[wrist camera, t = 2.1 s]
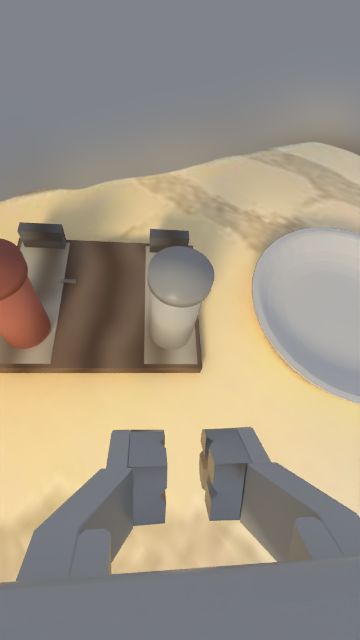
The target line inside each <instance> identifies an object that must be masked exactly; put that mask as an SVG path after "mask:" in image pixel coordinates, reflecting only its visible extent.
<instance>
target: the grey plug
mask: <svg viewBox="0 0 360 640" xmlns="http://www.w3.org/2000/svg"><path fill="white" fill-rule="evenodd" d="M147 280H148V286H149V288H150V290H151V304H150V321H149V334H150V337H151V339H152V341H153V342H154V343H155V344H156V345H157V346H159V347H161V348H163V349H167V350H175V349H179V348H181V347H183V346H185V345H186V344H187V343H188V341H189V340H190V338H191V335H192V331H193V328H194V325H195V322H196V319H197V316H198V313H199V310H200V306H201V303H202V301H203V300H204V299H205V298H206V297H207V296H208V294H209V292H210V290H211V287H212V284H213V281H214V270H213V267H212V265H211V263H210V261H209V260H208V259H207V258H206V257H205V256H204V255H203V254H202V253H200V252H198V251H197V250H194V249H192V248H189V247H183V246H173V247H168V248H165V249H163V250H161V251H159V252H158V253H156V254H155V255H154V256H153V257H152V259H151V260H150V263H149V266H148V278H147Z"/></svg>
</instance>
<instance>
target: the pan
mask: <svg viewBox="0 0 360 640" xmlns="http://www.w3.org/2000/svg"><path fill="white" fill-rule="evenodd" d="M252 298H253V303H254V309H255V313H256V315H257V318H258V320H259V323H260V325H261V328H262V330H263V332H264V334H265V335H266V337H267V338H268V340H269V341H270V343H271V345H272V346H273V348H274V349H275V350H276V351H277V353H278V354H279V355H280V356H281V357H282V358H283V359H284V360H285V361H286V363H287V364H288V365H289V366H290V367H291V368H292V369H294V370H295V371H296V372H297V373H299V374H300V375H301V376H302V377H304V378H305V379H306V380H307V381H309V382H310V383H312V384H313V385H315V386H317V387H319V388H320V389H322V390H324V391H326V392H327V393H329V394H331V395H333V396H336V397H339V398H341V399H344V400H347V401H349V402H352V403H355V404H360V234H357V233H354V232H351V231H346V230H341V229H336V228H321V227H316V228H308V229H301V230H298V231H295V232H291V233H288V234H286V235H284V236H283V237H281V238H279V239H277V240H276V241H274V242H273V243H272V244H271V245H270V246H269V247H268V248H267V249H266V250H265V251H264V253H263V254H262V256H261V257H260V259H259V261H258V262H257V265H256V268H255V271H254V274H253V278H252Z"/></svg>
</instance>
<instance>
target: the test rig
mask: <svg viewBox="0 0 360 640" xmlns="http://www.w3.org/2000/svg"><path fill="white" fill-rule="evenodd" d="M18 233H19V235H20V237H21V238H19V241H18V245H17V247H18V248H19V249H20V251H21V252H22V254H23V256H24V258H25V261H26V263H27V266H28V277H29V279H30V281H31V283H32V285H33V287H34V289H35V291H36V293H37V295H38V297H39V299H40V301H41V303H42V305H43V307H44V310H45V312H46V314H47V316H48V318H49V320H50V323H51V328H50V332H49V334H48V336H47V337H46V339H45V340H44V341H42V342H41V343H40V344H38V345H36V346H34V347H31V348H26V349H19V348H15V347H13V346H11V345H9V344H8V343H7V342H6V341H5V340H4V338H3V337H2V336H1V335H0V373H200V371H201V369H202V362H201V348H200V335H199V322H198V316H197V319H196V322H195V325H194V328H193V331H192V335H191V338H190V340H189V341H188V343H187V344H186V345H185V346H183V347H181V348H179V349H175V350H167V349H163V348H161V347H159V346H157V345H156V344H155V343H154V342H153V341H152V339H151V337H150V334H149V321H150V304H151V290H150V288H149V286H148V280H147V278H148V266H149V263H150V260H151V259H152V257H153V256H154V255H155V254H156V253H158V252H159V251H161V250H163V249H165V248H168V247H173V246H183V247H189V248H192V249H193V246H188V243H189V231H179V230H159V229H150V244H143V243H121V242H99V241H77V240H66V238H65V234H64V230H63V227H62V225H60V224H41V223H21V222H20V224H19V227H18Z"/></svg>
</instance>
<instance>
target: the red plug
mask: <svg viewBox="0 0 360 640" xmlns="http://www.w3.org/2000/svg"><path fill="white" fill-rule="evenodd" d="M50 328H51V323H50V320H49V318H48V316H47V314H46V312H45V310H44V307H43V305H42V303H41V301H40V299H39V297H38V295H37V293H36V291H35V289H34V287H33V285H32V283H31V281H30V279H29V277H28V266H27V263H26V261H25V258H24V256H23V254H22V252H21V251H20V249H19V248H18V247H17V246H16V245H15V244H13V243H12V242H10V241H7V240H4V239H0V335H1V336H2V337H3V338H4V340H5V341H6V342H7V343H8V344H9V345H11V346H13V347H15V348H19V349H26V348H31V347H34V346H36V345H38V344H40V343H41V342H42V341H44V340H45V339H46V337H47V336H48V334H49V332H50Z"/></svg>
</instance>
